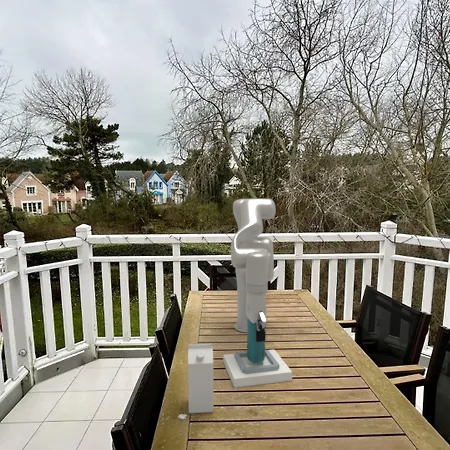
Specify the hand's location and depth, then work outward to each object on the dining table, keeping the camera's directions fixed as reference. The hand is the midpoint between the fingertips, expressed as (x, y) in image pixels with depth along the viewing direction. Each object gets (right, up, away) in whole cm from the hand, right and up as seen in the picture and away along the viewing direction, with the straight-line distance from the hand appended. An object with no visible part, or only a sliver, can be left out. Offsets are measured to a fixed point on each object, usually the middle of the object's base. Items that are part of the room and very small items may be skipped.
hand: (256, 335), depth 122 cm
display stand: (0, -13, +1) cm, 13 cm away
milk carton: (-18, -15, -18) cm, 30 cm away
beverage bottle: (0, -10, +1) cm, 10 cm away
